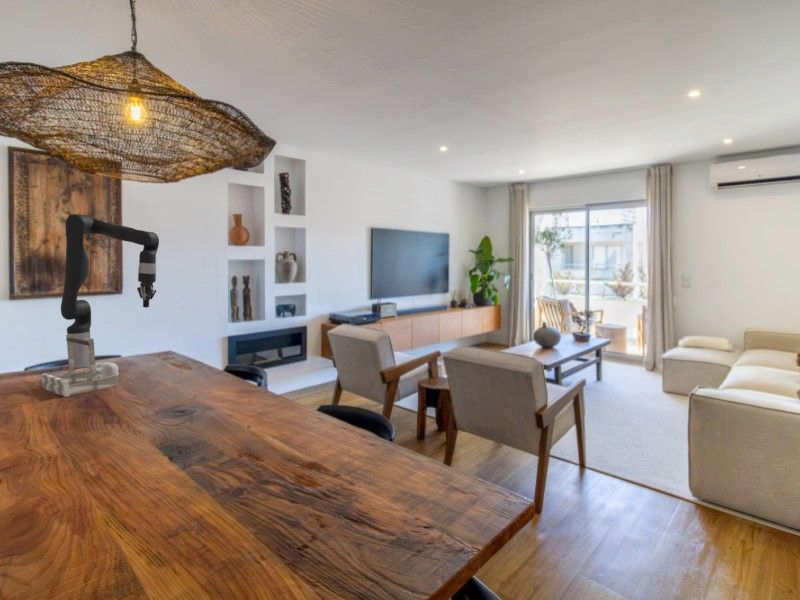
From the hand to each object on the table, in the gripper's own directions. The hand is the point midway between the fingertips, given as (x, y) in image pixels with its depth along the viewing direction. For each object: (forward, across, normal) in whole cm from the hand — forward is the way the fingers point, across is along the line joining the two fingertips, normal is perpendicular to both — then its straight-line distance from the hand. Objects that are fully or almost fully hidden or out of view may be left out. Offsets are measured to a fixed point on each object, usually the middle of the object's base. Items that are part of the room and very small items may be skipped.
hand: (145, 307), depth 216 cm
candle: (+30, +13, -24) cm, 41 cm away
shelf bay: (+31, +13, -32) cm, 46 cm away
